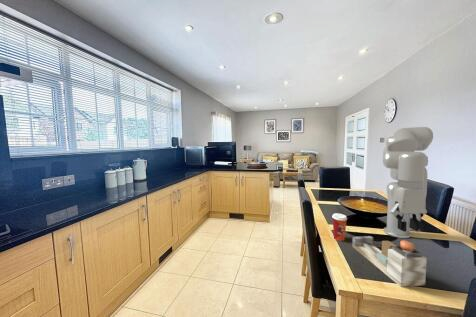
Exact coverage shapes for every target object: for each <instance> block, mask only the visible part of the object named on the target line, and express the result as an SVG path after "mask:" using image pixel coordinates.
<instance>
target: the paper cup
mask: <svg viewBox="0 0 476 317" xmlns="http://www.w3.org/2000/svg"><path fill="white" fill-rule="evenodd" d="M331 217H332V225H333V226H332V227H333V228H332V232H333V234H332V235H333V238H334V240H335V241H338V242H344V241H345V239H346V231H347V230H346V228H347V220H348V217H347V216H346V215H345V214H342V213H336V212H335V213H333V214H332V216H331Z"/></svg>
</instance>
